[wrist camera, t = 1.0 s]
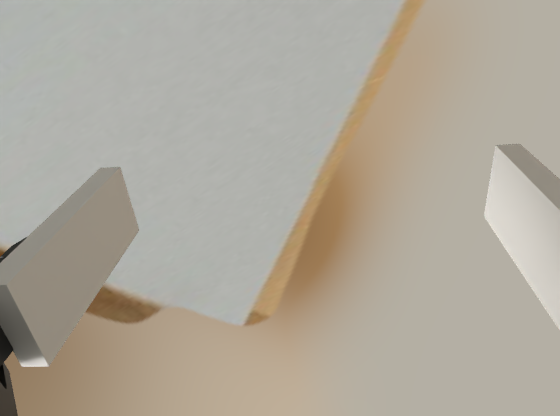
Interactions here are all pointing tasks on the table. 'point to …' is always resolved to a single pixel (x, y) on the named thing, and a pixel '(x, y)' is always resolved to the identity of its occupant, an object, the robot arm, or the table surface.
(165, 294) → the table surface
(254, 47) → the table surface
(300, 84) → the table surface
